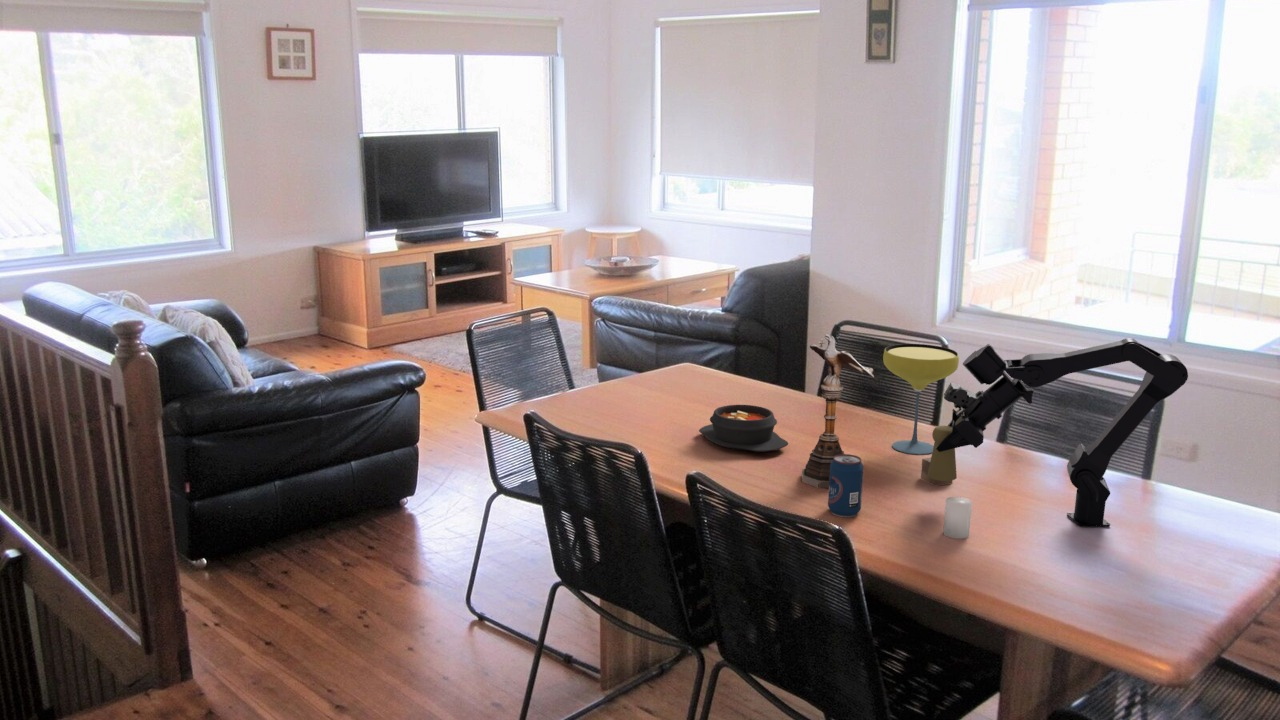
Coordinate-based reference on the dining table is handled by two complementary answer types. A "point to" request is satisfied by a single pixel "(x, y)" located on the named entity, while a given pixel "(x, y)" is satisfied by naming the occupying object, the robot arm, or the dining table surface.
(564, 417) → the dining table surface
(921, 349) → the cocktail glass
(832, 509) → the soda can
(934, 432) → the cork
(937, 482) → the walnut block
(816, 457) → the bird statue
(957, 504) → the off-white cylinder
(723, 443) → the casserole
